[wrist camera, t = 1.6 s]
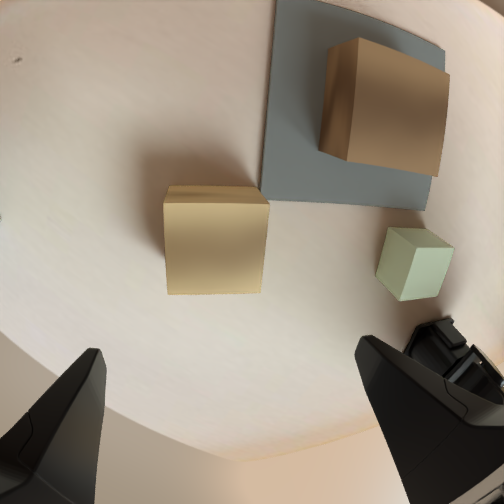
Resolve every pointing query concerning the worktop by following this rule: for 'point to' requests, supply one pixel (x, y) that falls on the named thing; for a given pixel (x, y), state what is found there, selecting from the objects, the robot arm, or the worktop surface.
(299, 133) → the build mat
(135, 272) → the worktop surface
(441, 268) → the sage brick
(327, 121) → the walnut base brick
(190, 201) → the oak brick
